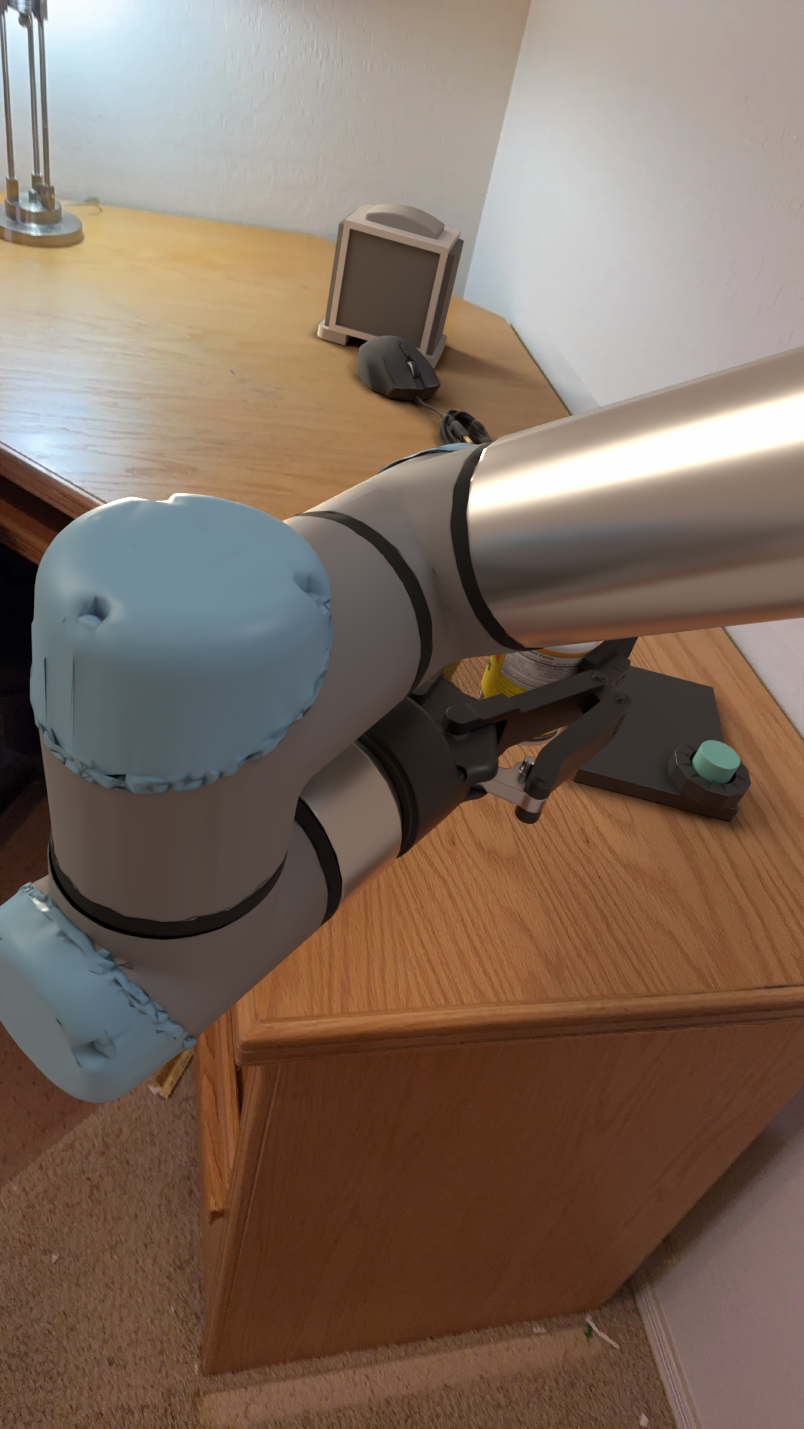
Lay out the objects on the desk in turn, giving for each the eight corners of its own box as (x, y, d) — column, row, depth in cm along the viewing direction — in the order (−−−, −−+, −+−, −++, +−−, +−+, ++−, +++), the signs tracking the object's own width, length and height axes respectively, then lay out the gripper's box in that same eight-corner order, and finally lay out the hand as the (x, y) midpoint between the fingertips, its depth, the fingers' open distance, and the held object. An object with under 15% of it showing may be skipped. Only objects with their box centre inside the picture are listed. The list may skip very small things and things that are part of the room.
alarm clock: (445, 344, 142) (475, 219, 130) (433, 370, 131) (464, 237, 120) (336, 313, 142) (356, 185, 130) (315, 336, 132) (334, 200, 120)
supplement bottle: (502, 679, 57) (551, 543, 51) (574, 724, 55) (635, 589, 49) (454, 715, 53) (500, 573, 47) (529, 765, 51) (588, 624, 45)
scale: (738, 829, 69) (756, 803, 67) (572, 785, 69) (585, 758, 67) (712, 699, 82) (726, 675, 80) (572, 662, 81) (583, 637, 79)
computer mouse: (394, 361, 131) (402, 323, 127) (513, 465, 112) (526, 424, 108) (338, 360, 126) (344, 321, 123) (452, 468, 107) (463, 426, 104)
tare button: (733, 788, 68) (743, 773, 67) (693, 778, 68) (703, 762, 67) (727, 761, 71) (737, 745, 70) (689, 751, 71) (698, 735, 70)
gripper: (191, 741, 44) (452, 590, 60) (490, 976, 37) (696, 736, 53) (200, 621, 39) (481, 491, 55) (545, 865, 32) (753, 638, 48)
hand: (586, 612), depth 54 cm, fingers closed on supplement bottle, 6 cm apart
